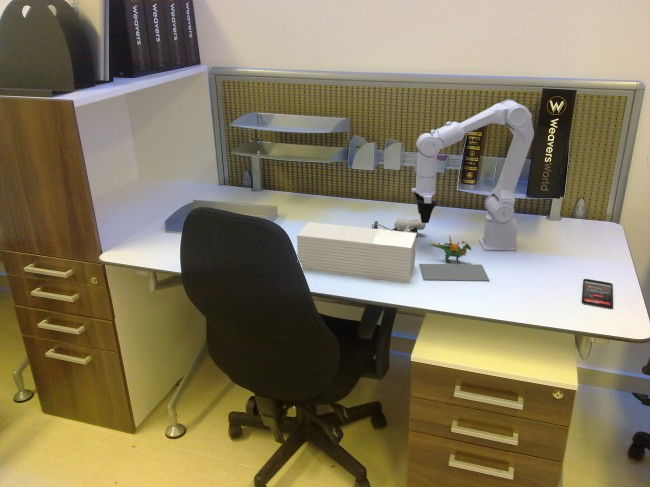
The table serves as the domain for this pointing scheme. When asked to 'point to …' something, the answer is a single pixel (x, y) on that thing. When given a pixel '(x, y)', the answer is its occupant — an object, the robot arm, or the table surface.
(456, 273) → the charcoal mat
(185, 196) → the table surface
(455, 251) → the figurine
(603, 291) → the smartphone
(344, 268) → the stack of papers
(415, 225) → the clip-on lamp
